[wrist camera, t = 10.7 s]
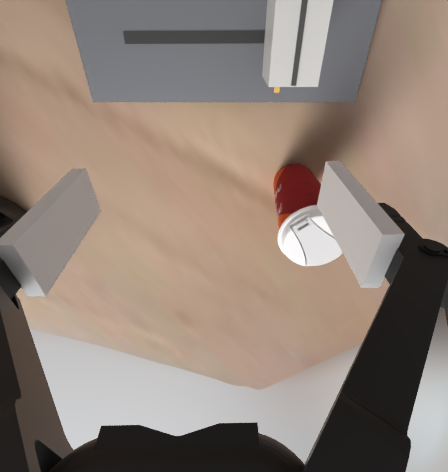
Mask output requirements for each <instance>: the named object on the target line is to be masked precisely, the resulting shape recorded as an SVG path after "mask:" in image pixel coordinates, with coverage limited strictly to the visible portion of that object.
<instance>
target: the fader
mask: <svg viewBox="0 0 448 472" xmlns="http://www.w3.org/2000/svg"><path fill="white" fill-rule="evenodd" d="M333 1H334V0H267V12H266V27H265V41H264V55H263V70H262V77H263V78H264V80H265V82H266V84H267V85H268V87H318V83H319V78H320V72H321V67H322V61H323V56H324V50H325V45H326V39H327V34H328V28H329V23H330V17H331V12H332V6H333Z"/></svg>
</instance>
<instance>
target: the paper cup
mask: <svg viewBox="0 0 448 472" xmlns="http://www.w3.org/2000/svg"><path fill="white" fill-rule="evenodd" d="M320 188H321V184H320V183H319V181H318V180H317V179H316V177H315V176H314V175H313V173H312V172H311V171H310V170H309V169H308V168H307V167H306V166H304V165H301V164H290V165H287V166H285V167H283V168H282V169H281V170H280V171H279V172H278V173H277V174H276V176H275V179H274V195H275V203H276V210H277V218H278V225H279V232H278V244H279V247H280V249H281V251H282V252H283V253H284V254H285V255H286V256H287V257H288V258H289V259H290V260H291V261H293V262H295V263H297V264H299V265H303V266H318V265H323V264H326V263H328V262H331V261H332V260H334V259H336V258H337V257H339V256H340V255H341V254H342V251H341V249H340V247H339V245H338V243H337V241H336V240H335V238H334V236H333V234H332V232H331V230H330V228H329V226H328V225H327V223H326V221H325V219H324V217H323V215H322V213H321V211H320V210H319V208H318V206H317V202H318V198H319V193H320Z"/></svg>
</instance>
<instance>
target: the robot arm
mask: <svg viewBox="0 0 448 472" xmlns="http://www.w3.org/2000/svg"><path fill="white" fill-rule="evenodd" d="M317 206H318V208H319V210H320V211H321V213H322V215H323V217H324V219H325V221H326V223H327V225H328V226H329V228H330V230H331V232H332V234H333V236H334V238H335V240H336V241H337V243H338V245H339V247H340V249H341V251H342V253H343V254H344V256H345V258H346V260H347V262H348V264H349V266H350V268H351V269H352V271H353V273H354V275H355V277H356V279H357V281H358V282H359V284H360V286H361V288H380V287H381V285H382V283H383V280H384V278H385V277H386V279H387V281H388V282H389V284H390V286H389V288H388V290H387V292H386V294H385V296H384V298H383V300H382V302H381V305H380V307H379V309H378V311H377V313H376V315H375V317H374V319H373V322H372V324H371V326H370V328H369V330H368V332H367V334H366V336H365V338H364V341H363V343H362V345H361V347H360V349H359V351H358V353H357V355H356V357H355V360H354V362H353V364H352V366H351V368H350V370H349V372H348V375H347V377H346V379H345V381H344V383H343V385H342V387H341V389H340V391H339V393H338V395H337V398H336V400H335V402H334V404H333V406H332V408H331V410H330V412H329V414H328V417H327V419H326V421H325V423H324V425H323V427H322V429H321V431H320V434H319V436H318V438H317V440H316V442H315V444H314V446H313V448H312V450H311V452H310V454H309V456H308V458H307V460H306V463H305V465H304V464H303V462H302V461H301V460H300V459H299V458H298V457H297V456H296V455H295V454H294V453H293V452H292V451H290V450H289V449H288V448H287V447H286V446H284V445H283V444H281V443H280V442H278V441H276V440H275V439H272V438H270V437H268V436H266V435H262V434H259V433H258V426H257V423H219V424H216V425H213V426H210V427H207V428H204V429H201V430H198V431H195V432H192V433H188V434H185V435H182V436H173V435H170V434H166V433H163V432H160V431H157V430H153V429H150V428H147V427H144V426H140V425H125V426H124V425H122V426H101V429H100V432H99V435H98V438H97V439H94V440H92V441H90V442H87V443H85V444H83V445H82V446H80V447H78V448H77V449H75V450H74V451H73V449H72V448H71V446H70V444H69V442H68V441H67V439H66V436H65V434H64V431H63V428H62V425H61V422H60V419H59V416H58V413H57V410H56V407H55V404H54V401H53V398H52V395H51V392H50V389H49V386H48V383H47V380H46V377H45V374H44V371H43V368H42V365H41V362H40V359H39V356H38V353H37V350H36V348H35V344H34V342H33V338H32V335H31V332H30V329H29V326H28V323H27V320H26V317H25V314H24V311H23V308H22V305H21V302H20V300H19V298H18V297H17V296H16V293H17V291H18V290H19V289H20V287H21V288H22V289H23V290H24V292H25V293H26V295H27V296H28V297H32V296H46V295H47V294H48V292H49V291H50V289H51V288H52V286H53V285H54V283H55V281H56V280H57V278H58V277H59V275H60V274H61V272H62V271H63V269H64V268H65V266H66V264H67V263H68V261H69V260H70V258H71V257H72V255H73V254H74V252H75V251H76V249H77V248H78V246H79V244H80V243H81V241H82V240H83V238H84V237H85V235H86V234H87V232H88V231H89V229H90V227H91V226H92V224H93V223H94V221H95V220H96V218H97V217H98V215H99V214H100V212H101V210H100V207H99V204H98V201H97V198H96V195H95V193H94V190H93V187H92V184H91V181H90V178H89V176H88V173H87V170H86V169H72V170H71V171H69V172H68V173H67V174H66V175H65V176H64V177H63V178H62V179H61V180H60V181H59V182H58V183H57V184H56V185H55V186H54V187H53V188H52V189H51V190H50V191H49V192H48V193H47V194H46V195H44V196H43V197H42V198H41V199H40V200H39V201H38V202H37V203H36V204H35V205H34V206H33V207H32V208H31V209H30V210H29V211H28V212H27V213H26V212H25V211H24V210H22V209H21V208H20V207H18V206H17V205H15V204H14V203H12V202H10V201H9V200H7V199H5V198H3V197H0V472H405V471H406V467H407V463H408V459H409V453H410V448H411V441H410V439H409V437H408V436H407V430H408V426H409V422H410V418H411V414H412V411H413V406H414V403H415V399H416V395H417V392H418V388H419V384H420V380H421V377H422V373H423V369H424V365H425V362H426V358H427V354H428V350H429V347H430V343H431V339H432V335H433V331H434V328H435V324H436V320H437V316H438V313H439V309H440V307H442V308H445V313H446V319H447V324H448V247H446V246H445V245H443V244H441V243H439V242H437V241H434V240H430V239H423V238H422V237H421V236H420V235H419V234H418V233H417V232H416V231H415V230H414V229H413V228H412V227H411V226H410V225H409V224H408V223H407V222H406V221H405V219H404V218H403V217H401V215H400V214H399V213H398V212H397V211H396V210H395V209H394V208H392V207H390V206H389V205H387V204H385V203H377V202H376V201H375V200H374V199H373V198H372V196H371V195H370V194H369V193H368V192H367V191H366V190H365V188H364V187H363V186H362V185H361V184H360V183H359V182H358V181H357V179H356V178H355V177H354V176H353V175H352V174H351V173H350V171H349V170H348V169H347V168H346V167H345V166H344V165H343V163H342V162H341V161H326V163H325V168H324V173H323V178H322V183H321V188H320V193H319V198H318V202H317Z"/></svg>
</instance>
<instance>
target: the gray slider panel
mask: <svg viewBox="0 0 448 472" xmlns="http://www.w3.org/2000/svg"><path fill="white" fill-rule="evenodd" d="M381 2H382V0H334V1H333V6H332V12H331V17H330V23H329V28H328V34H327V39H326V45H325V50H324V56H323V61H322V67H321V72H320V78H319V83H318V87H268V85H267V84H266V82H265V80H264V78H263V77H262V70H263V55H264V41H265V27H266V12H267V0H66V4H67V7H68V11H69V15H70V19H71V22H72V26H73V30H74V33H75V37H76V41H77V44H78V48H79V52H80V55H81V59H82V63H83V67H84V70H85V74H86V78H87V81H88V85H89V89H90V92H91V96H92V100H93V102H355V101H356V97H357V93H358V90H359V86H360V82H361V78H362V74H363V71H364V67H365V63H366V59H367V55H368V52H369V48H370V44H371V40H372V36H373V33H374V29H375V25H376V21H377V17H378V14H379V10H380V6H381Z"/></svg>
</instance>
